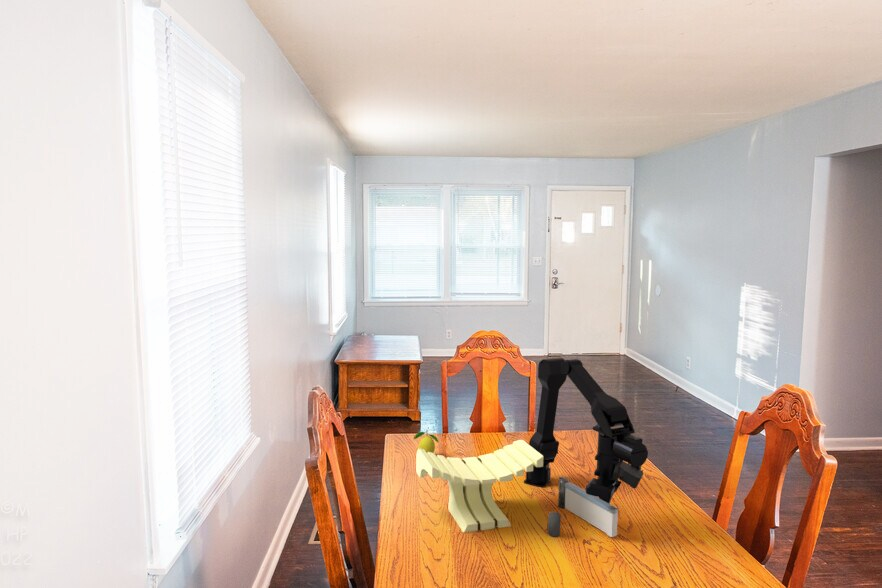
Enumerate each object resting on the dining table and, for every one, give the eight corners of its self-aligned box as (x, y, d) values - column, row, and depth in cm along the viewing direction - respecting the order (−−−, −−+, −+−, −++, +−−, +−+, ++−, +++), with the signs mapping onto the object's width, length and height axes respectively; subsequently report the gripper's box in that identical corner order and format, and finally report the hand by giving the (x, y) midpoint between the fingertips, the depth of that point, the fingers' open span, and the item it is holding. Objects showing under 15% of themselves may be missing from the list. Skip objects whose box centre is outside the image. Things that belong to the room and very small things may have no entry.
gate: (563, 508, 156) (564, 483, 155) (569, 506, 157) (569, 482, 156) (611, 537, 140) (612, 510, 140) (616, 535, 141) (618, 508, 141)
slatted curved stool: (516, 496, 164) (518, 436, 162) (541, 522, 149) (543, 456, 147) (415, 508, 155) (416, 445, 154) (431, 537, 140) (432, 467, 139)
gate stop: (546, 534, 142) (546, 515, 142) (550, 529, 145) (550, 510, 144) (557, 538, 141) (558, 518, 140) (561, 532, 143) (562, 513, 143)
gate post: (556, 507, 157) (557, 479, 157) (559, 503, 159) (560, 476, 159) (565, 509, 156) (566, 481, 155) (568, 506, 158) (569, 478, 157)
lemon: (413, 458, 191) (413, 429, 190) (422, 453, 196) (423, 425, 195) (429, 462, 188) (430, 433, 187) (439, 457, 193) (439, 428, 192)
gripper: (633, 472, 134) (629, 534, 136) (648, 446, 150) (645, 502, 152) (586, 461, 139) (583, 521, 141) (606, 438, 155) (603, 492, 157)
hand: (605, 509), depth 148 cm, fingers closed
